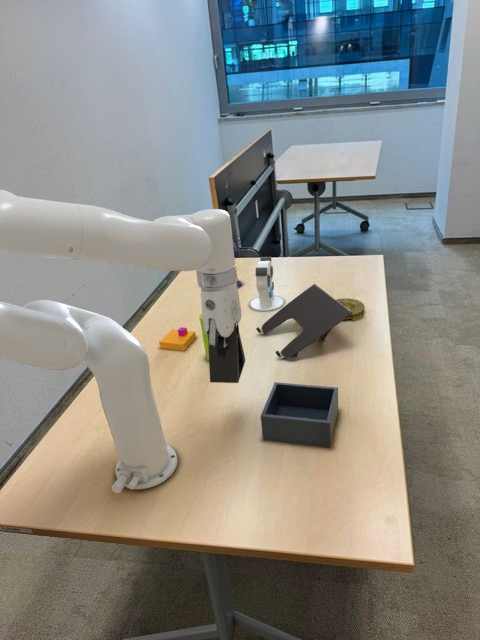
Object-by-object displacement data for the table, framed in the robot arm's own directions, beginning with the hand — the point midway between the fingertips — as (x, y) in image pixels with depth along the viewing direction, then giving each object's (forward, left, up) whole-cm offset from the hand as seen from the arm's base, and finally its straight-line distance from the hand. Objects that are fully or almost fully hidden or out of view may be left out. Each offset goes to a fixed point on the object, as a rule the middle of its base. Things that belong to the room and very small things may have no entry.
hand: (226, 357), depth 101 cm
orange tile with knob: (+32, +29, -17) cm, 47 cm away
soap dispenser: (+26, +14, -17) cm, 34 cm away
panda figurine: (+61, +9, -17) cm, 64 cm away
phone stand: (0, 0, -4) cm, 4 cm away
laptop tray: (+39, -7, -17) cm, 44 cm away
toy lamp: (+76, +25, -17) cm, 82 cm away
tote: (+1, -15, -17) cm, 23 cm away
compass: (+57, -18, -17) cm, 63 cm away
